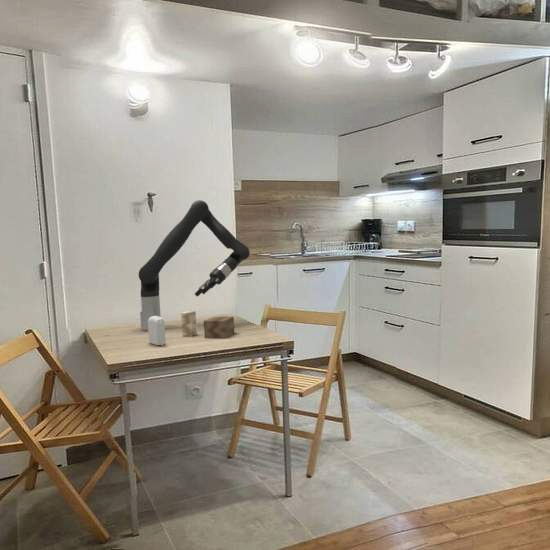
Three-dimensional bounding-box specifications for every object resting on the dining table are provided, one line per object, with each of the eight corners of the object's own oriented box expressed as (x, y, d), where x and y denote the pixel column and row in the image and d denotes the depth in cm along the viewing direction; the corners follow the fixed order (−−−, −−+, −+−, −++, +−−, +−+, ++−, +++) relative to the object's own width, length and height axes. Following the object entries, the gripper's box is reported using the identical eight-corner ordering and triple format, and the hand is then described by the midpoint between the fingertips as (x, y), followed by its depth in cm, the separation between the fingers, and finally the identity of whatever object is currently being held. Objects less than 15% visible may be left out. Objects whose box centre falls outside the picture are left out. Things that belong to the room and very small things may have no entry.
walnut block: (204, 338, 213) (203, 320, 213) (215, 333, 225) (214, 316, 224) (224, 338, 211) (223, 321, 210) (234, 333, 222) (233, 316, 221)
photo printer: (147, 343, 207) (146, 315, 206) (156, 341, 210) (155, 314, 209) (158, 346, 199) (156, 317, 198) (167, 344, 202) (165, 316, 201)
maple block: (182, 336, 219) (181, 313, 219) (187, 334, 224) (186, 311, 223) (192, 336, 218) (190, 313, 217) (196, 334, 223) (195, 311, 222)
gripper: (210, 270, 244) (189, 290, 236) (221, 265, 232) (199, 286, 224) (219, 281, 246) (198, 301, 238) (231, 276, 234) (209, 297, 226)
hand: (199, 294), depth 231 cm, fingers open, 8 cm apart
